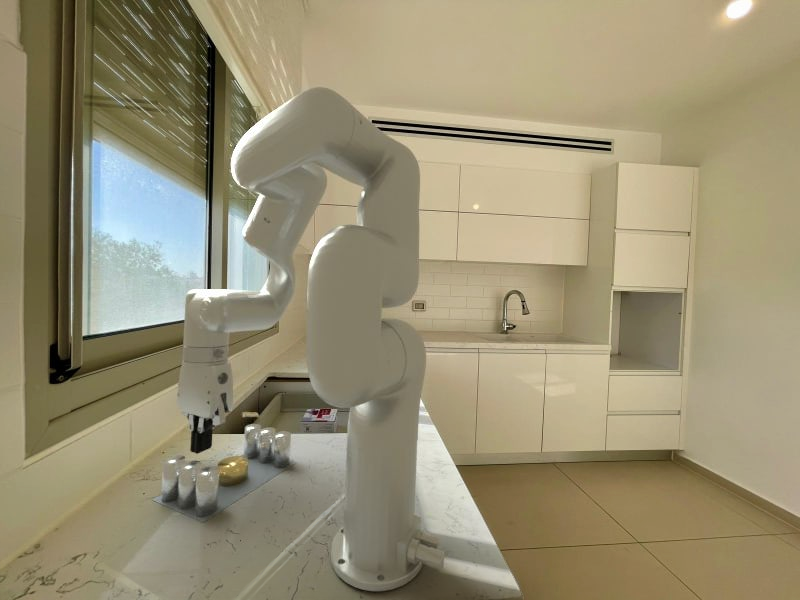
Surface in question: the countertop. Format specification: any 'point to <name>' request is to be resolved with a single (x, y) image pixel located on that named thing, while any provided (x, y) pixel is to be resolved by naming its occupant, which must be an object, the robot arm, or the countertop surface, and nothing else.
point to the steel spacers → (203, 484)
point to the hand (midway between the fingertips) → (201, 449)
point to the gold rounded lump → (233, 471)
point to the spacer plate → (234, 488)
